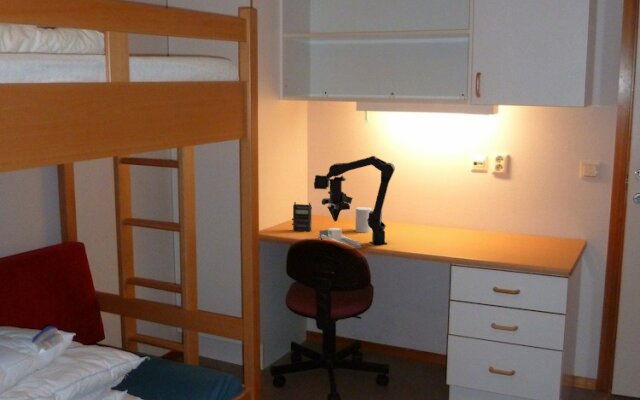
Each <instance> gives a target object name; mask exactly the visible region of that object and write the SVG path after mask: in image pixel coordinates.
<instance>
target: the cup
mask: <svg viewBox="0 0 640 400" xmlns="http://www.w3.org/2000/svg"><path fill="white" fill-rule="evenodd" d="M370 211H372V208H371V207H368V206H360V207H359V206H358V207H355V232H356V233H359V234H365V233H370V232H372V229H371V228H370V227H369V225H368V221H367V220H368V218H369V212H370Z"/></svg>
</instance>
